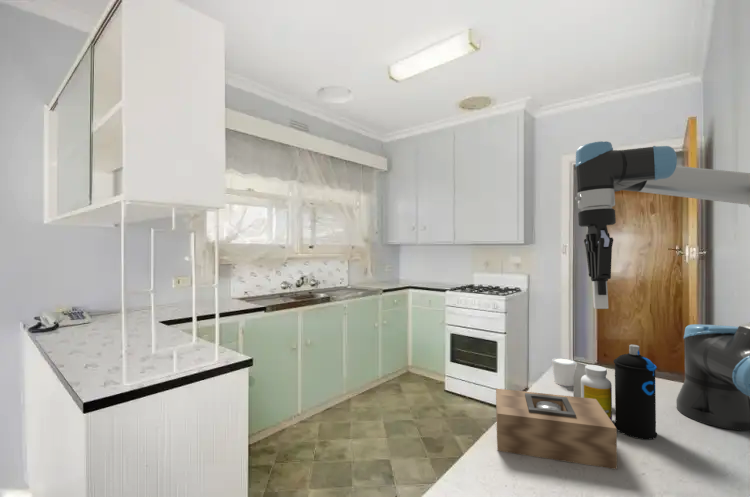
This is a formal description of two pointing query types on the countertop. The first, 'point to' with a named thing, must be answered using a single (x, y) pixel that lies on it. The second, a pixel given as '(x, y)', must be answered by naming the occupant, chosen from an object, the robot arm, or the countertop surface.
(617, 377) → the aerosol can
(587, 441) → the socket block
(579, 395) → the grey boxy piece
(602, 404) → the supplement bottle
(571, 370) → the white cup
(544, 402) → the peg
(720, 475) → the countertop surface
